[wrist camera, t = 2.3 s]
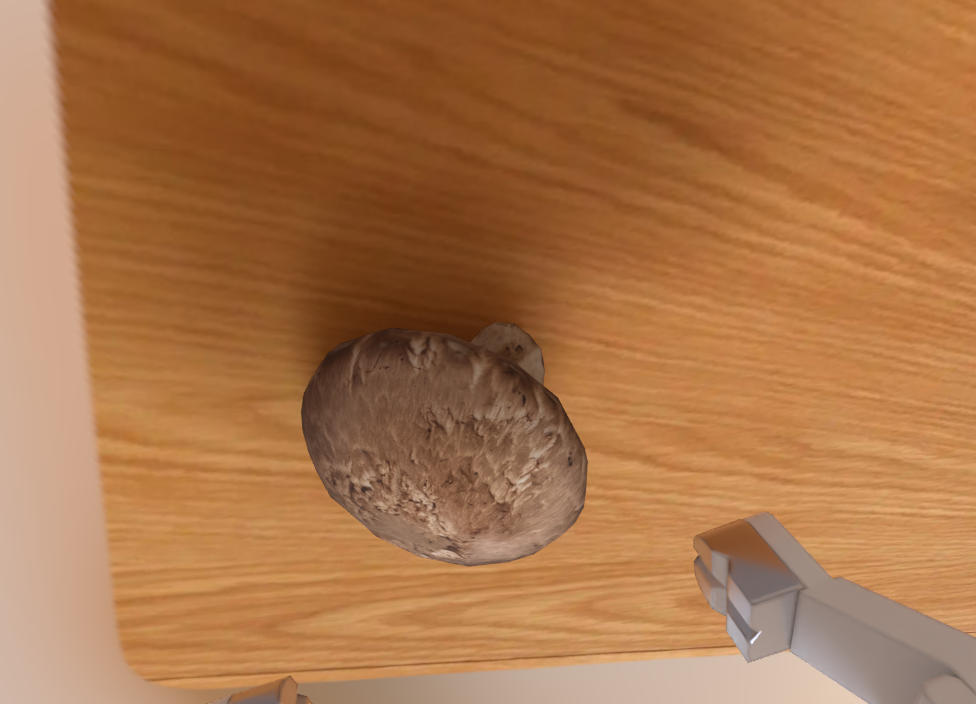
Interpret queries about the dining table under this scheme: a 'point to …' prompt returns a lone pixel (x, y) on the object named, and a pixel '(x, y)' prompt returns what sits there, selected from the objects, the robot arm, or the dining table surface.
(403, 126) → the dining table surface
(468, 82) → the dining table surface
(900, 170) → the dining table surface
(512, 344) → the mushroom
